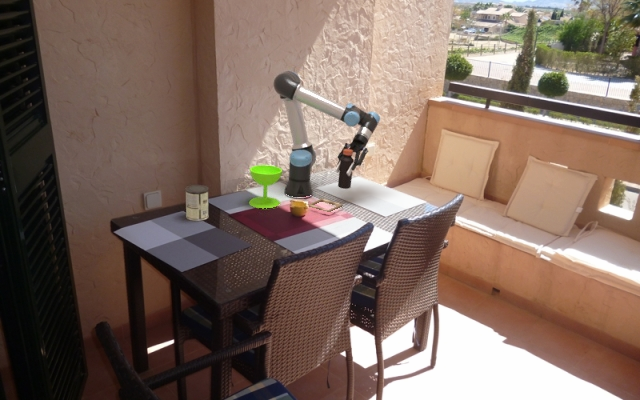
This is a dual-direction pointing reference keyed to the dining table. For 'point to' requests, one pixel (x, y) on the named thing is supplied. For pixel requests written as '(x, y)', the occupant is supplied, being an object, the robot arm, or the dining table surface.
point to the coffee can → (197, 202)
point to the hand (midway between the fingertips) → (342, 172)
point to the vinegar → (345, 169)
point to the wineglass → (265, 184)
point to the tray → (325, 202)
